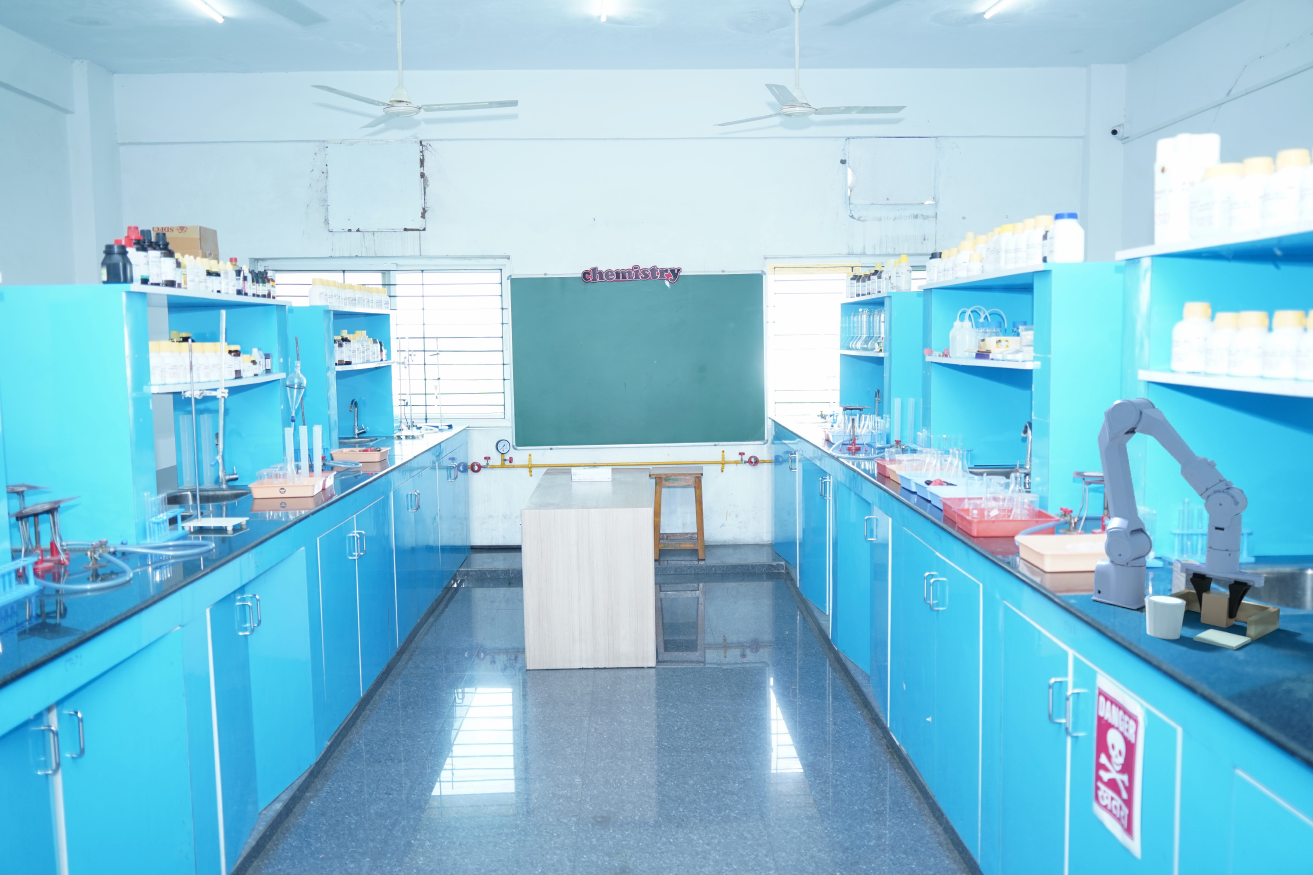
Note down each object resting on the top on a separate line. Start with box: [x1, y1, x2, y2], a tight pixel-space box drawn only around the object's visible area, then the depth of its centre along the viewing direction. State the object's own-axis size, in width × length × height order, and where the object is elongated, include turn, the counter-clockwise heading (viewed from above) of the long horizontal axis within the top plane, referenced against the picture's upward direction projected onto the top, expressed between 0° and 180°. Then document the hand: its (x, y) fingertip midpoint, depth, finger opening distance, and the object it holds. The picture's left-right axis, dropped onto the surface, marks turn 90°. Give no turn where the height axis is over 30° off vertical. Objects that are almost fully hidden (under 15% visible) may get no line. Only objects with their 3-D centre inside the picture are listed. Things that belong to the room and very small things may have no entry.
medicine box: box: [1171, 558, 1201, 594], centre depth 198 cm, size 8×4×9 cm, turn 168°
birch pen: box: [1168, 589, 1281, 642], centre depth 183 cm, size 17×13×4 cm
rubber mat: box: [1192, 628, 1252, 651], centre depth 172 cm, size 7×8×1 cm
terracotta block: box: [1200, 589, 1236, 629], centre depth 183 cm, size 4×4×6 cm
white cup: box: [1144, 594, 1186, 640], centre depth 176 cm, size 7×7×7 cm
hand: (1218, 614), depth 183 cm, fingers closed on terracotta block, 4 cm apart
